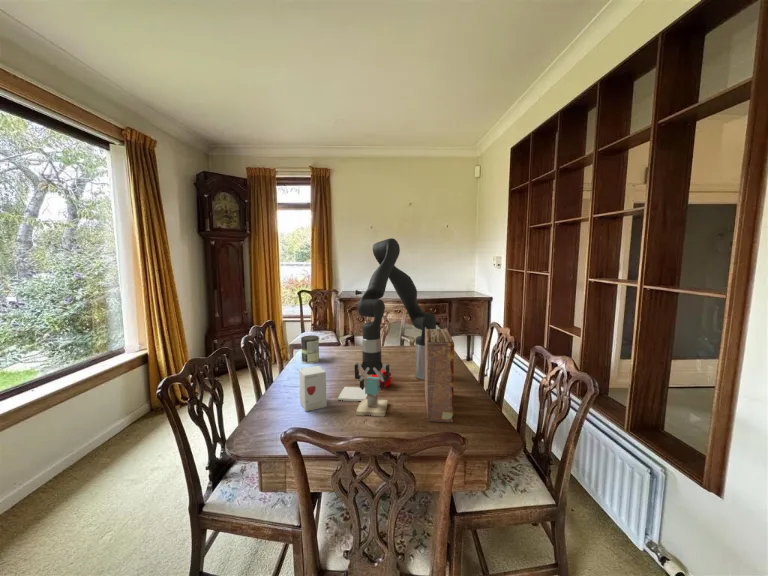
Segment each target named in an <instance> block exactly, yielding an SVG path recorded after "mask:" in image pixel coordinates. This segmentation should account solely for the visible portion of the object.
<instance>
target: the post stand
mask: <svg viewBox="0 0 768 576" xmlns="http://www.w3.org/2000/svg"><path fill="white" fill-rule="evenodd" d="M388 403H389V402H388V399H379V398H378V394H367V399H361V402H359V404H358V406H357V409H356V413H355V414H356V416H364V415H369V416H368V417H384V416H385V417H386V412H387V408H388ZM370 415H371V416H370Z"/></svg>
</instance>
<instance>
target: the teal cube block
mask: <svg viewBox="0 0 768 576" xmlns="http://www.w3.org/2000/svg"><path fill="white" fill-rule="evenodd" d="M364 388H365V394H377V395H379V393H380V386H379V377H372V376H367V377H366V378H365V379H364Z"/></svg>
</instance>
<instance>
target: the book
mask: <svg viewBox="0 0 768 576" xmlns="http://www.w3.org/2000/svg"><path fill="white" fill-rule="evenodd" d="M454 368H455V342H454V340H453V338H452V336H451V335H450V332H449V331H448V329H447V327H444V328H439V329H438V328H436V329H426V327H425V380H424V398H425V406H426V407H425V408H426V417H427V422H432V423H433V422H434V423H435V422H436V423H437V422H439V423H440V422H441V423H454V388H455V387H454V385H455V384H454V383H455V382H454V381H455V380H454V379H455V369H454Z"/></svg>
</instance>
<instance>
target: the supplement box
mask: <svg viewBox="0 0 768 576" xmlns="http://www.w3.org/2000/svg"><path fill="white" fill-rule="evenodd" d="M299 402H300V405H301V406H302V408H303V410H304V412H310V411H313V410H317V409H318V410H319V409H323V408H327V372H326V371H325V369H324V368H323V367H322V366H321V365H316V366H315V365H314V366H310V367H309V366H308V367H303V368H299ZM309 410H310V411H309Z"/></svg>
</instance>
